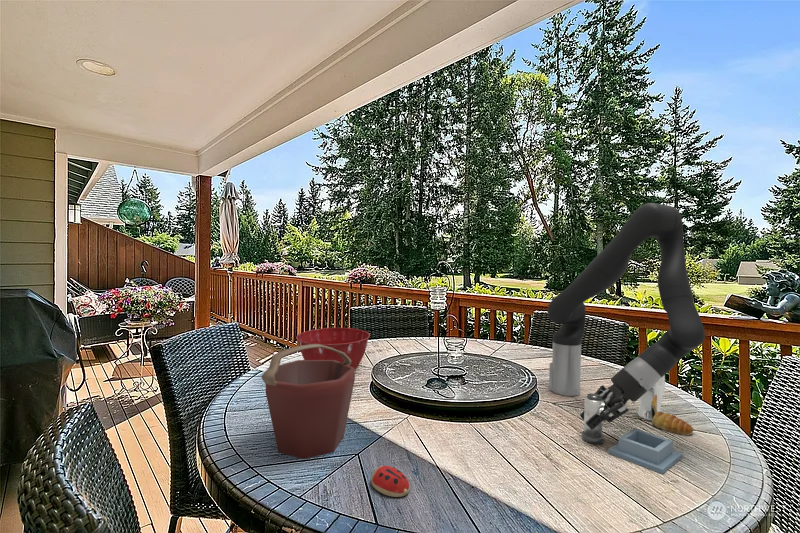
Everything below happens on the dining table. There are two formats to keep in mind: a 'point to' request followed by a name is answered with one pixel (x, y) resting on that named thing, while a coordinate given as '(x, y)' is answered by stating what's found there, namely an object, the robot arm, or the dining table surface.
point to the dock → (646, 450)
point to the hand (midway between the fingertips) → (585, 422)
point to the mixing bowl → (335, 344)
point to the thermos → (590, 409)
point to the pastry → (671, 424)
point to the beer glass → (652, 400)
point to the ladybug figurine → (390, 481)
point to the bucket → (309, 402)
